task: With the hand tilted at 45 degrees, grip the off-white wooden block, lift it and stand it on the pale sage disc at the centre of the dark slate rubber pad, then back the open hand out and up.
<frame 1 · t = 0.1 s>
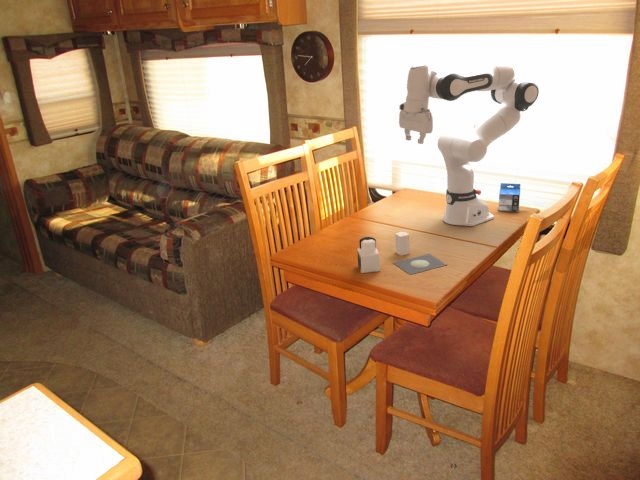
hand: (414, 141, 215), 39 cm above the table, tool pointing down, fingers open, 8 cm apart
slate pad: (419, 264, 197), on the table
label tape cartridge: (508, 210, 244), on the table
white block: (402, 252, 208), on the table
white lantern: (368, 269, 197), on the table
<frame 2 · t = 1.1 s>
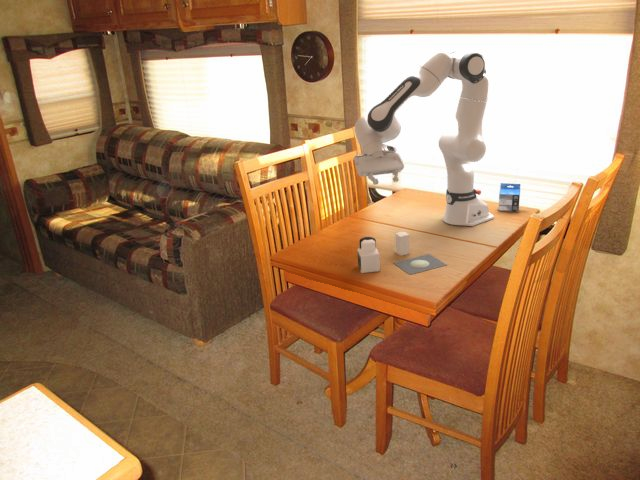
hand: (386, 182, 209), 26 cm above the table, tool tilted 45°, fingers open, 8 cm apart
nothing on the table moved.
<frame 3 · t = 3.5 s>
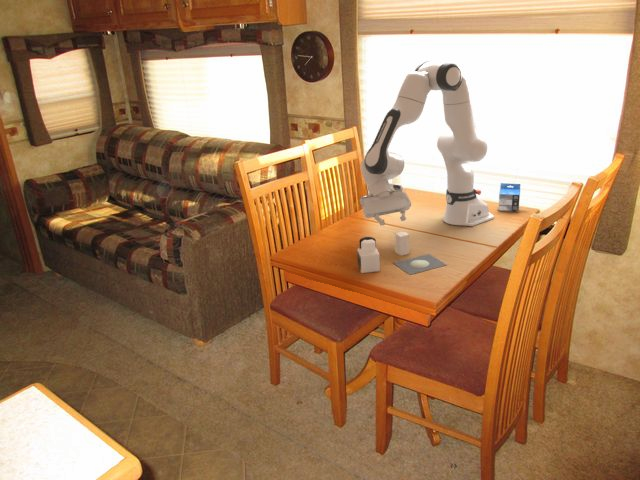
hand: (393, 222, 210), 11 cm above the table, tool tilted 45°, fingers open, 8 cm apart
nothing on the table moved.
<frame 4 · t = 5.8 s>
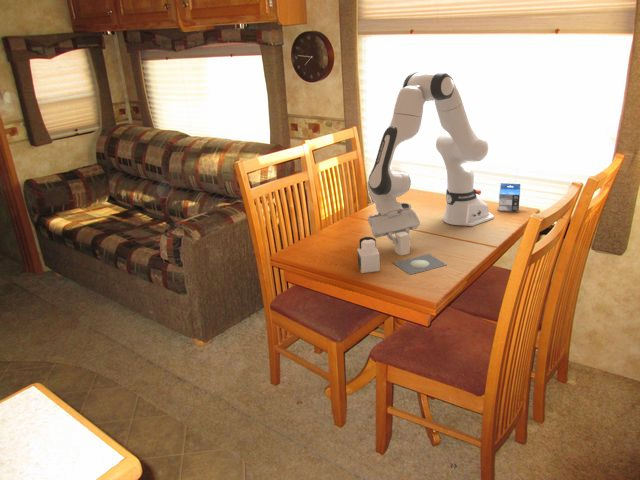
hand: (402, 241, 207), 5 cm above the table, tool tilted 45°, fingers closed on white block, 4 cm apart
white block: (402, 252, 208), on the table, touching gripper
everything else where it was.
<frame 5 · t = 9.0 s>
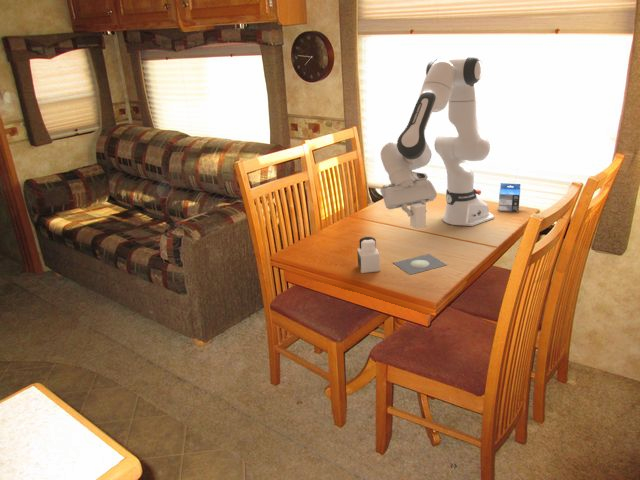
hand: (417, 214, 191), 20 cm above the table, tool tilted 45°, fingers closed on white block, 4 cm apart
white block: (418, 226, 192), point 15 cm above the table, touching gripper
everything else where it was.
when the fingers open (6 cm above the table, at t = 12.7 s): white block drops 1 cm, resting on slate pad.
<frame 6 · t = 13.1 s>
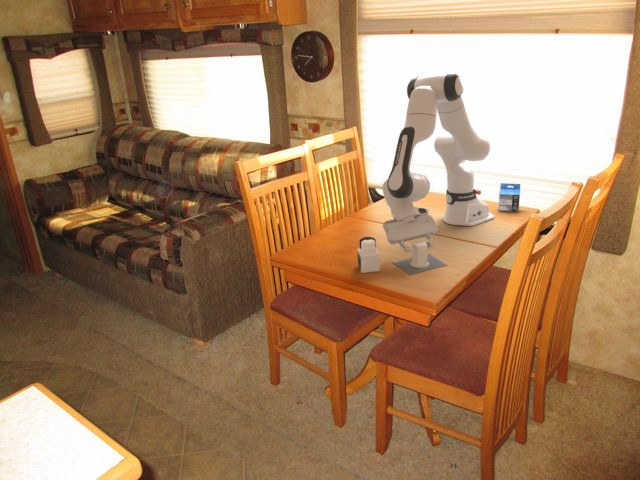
hand: (419, 249, 195), 6 cm above the table, tool tilted 45°, fingers open, 8 cm apart
white block: (419, 263, 198), resting on slate pad
everything else where it was.
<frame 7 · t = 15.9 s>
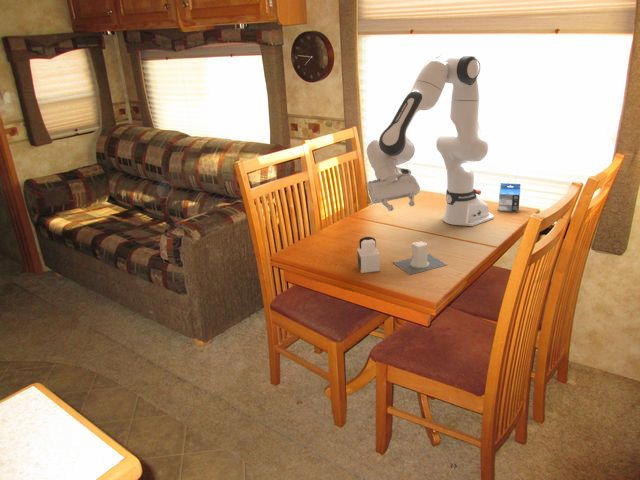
hand: (402, 207, 201), 19 cm above the table, tool tilted 45°, fingers open, 8 cm apart
nothing on the table moved.
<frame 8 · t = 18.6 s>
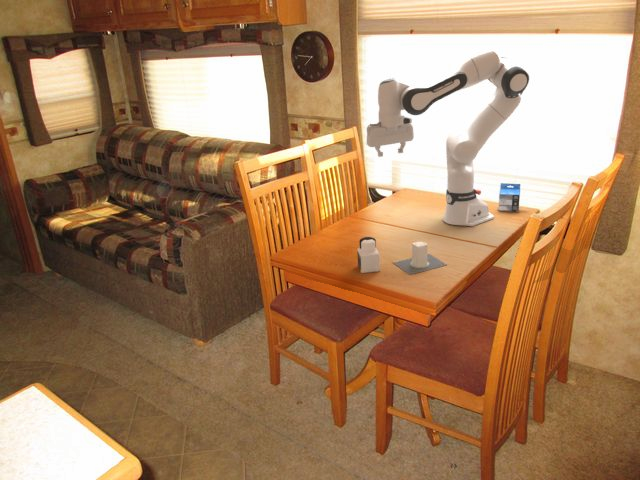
hand: (390, 154, 217), 34 cm above the table, tool pointing down, fingers open, 8 cm apart
nothing on the table moved.
at the end: white block 0.1 cm off-centre on the slate pad, point 0.1 cm above the slate pad's base; white block tilted 0°; the gripper is holding nothing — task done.
